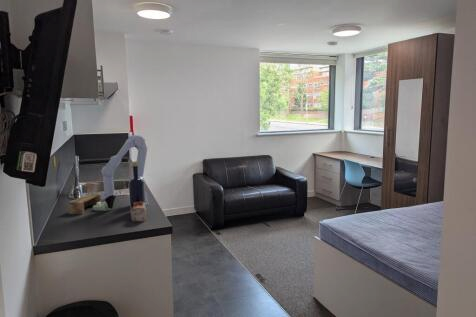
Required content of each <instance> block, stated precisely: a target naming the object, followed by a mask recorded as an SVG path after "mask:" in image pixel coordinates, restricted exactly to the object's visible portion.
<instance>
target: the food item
mask: <svg viewBox="0 0 476 317" xmlns="http://www.w3.org/2000/svg"><path fill="white" fill-rule="evenodd" d="M130 217H131V221H132V222H134V223H144V222H145V221H146V218H147V205H146V204H145V203H144V202H140V201H139V202H135V203H134V206H133V209H132V207H131V213H130Z"/></svg>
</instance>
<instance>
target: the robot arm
mask: <svg viewBox="0 0 476 317" xmlns="http://www.w3.org/2000/svg"><path fill="white" fill-rule="evenodd" d="M132 148H135V149H136V150H137V156H136V161H135V162H137V164H138V165H137V166H138V178H139V179H141V180H142V181H143V182H144V183H145V179H144V171H145V165H146V159H147V153H148V146H147V144H146V139H145V138H144V137H143V136H141V135H140V134H139V135H137V134H131V135H130V136H128V138H127V139H126V140H125V142H124V144H123V145H122V147H121V148H120V149H119V151H118V152H117V154H116V155H112V156H110V158H109V161H108V162H107V163H106V164H105V166H103V167H102V168H101V171H100V172H101V174H102V181H103V193H102V195H101V200H103V201H104V202H106V205H107V206H108V208H110V210H112V209H113V208H114V207H113V206H114V202H115V200H116V194H118V190H115V183H114V182H115V181H114V180H115V179H114V174H115V172H116V169H117V168H118V167H119V165H120V164H121V163H122V158H123V157H125V156H124V155H126V154H127V153H128V151H129V150H130V149H132ZM131 178H132V179H134V176H132V177H131ZM145 187H146V186H145V184H144V189H145ZM144 193H145V204H146V206H147V205H150V203H149V197H148V196H149V195H148V193H147V192H146V191H144Z"/></svg>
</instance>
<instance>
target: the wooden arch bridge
mask: <svg viewBox="0 0 476 317" xmlns="http://www.w3.org/2000/svg"><path fill="white" fill-rule="evenodd" d="M101 196H102V194H96V193H95V194H94V193H93V194H91V193H88V194H85V195H83V196H80V197H78V198H76V199H73V200H70V201H69V202H68V214H69V215H70V214H71V215H84V214H85V208H86V207H88V206H95V205H97V202H101V204H102V202H103V201H102V199H101Z"/></svg>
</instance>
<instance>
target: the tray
mask: <svg viewBox="0 0 476 317" xmlns="http://www.w3.org/2000/svg"><path fill="white" fill-rule="evenodd" d="M110 210H111V209H110V208H108V206H107V203H106V201H104V202H103V201H102V204H101V202H97V205H92V211H94V212H95V211H97V212H108V211H110Z"/></svg>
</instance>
